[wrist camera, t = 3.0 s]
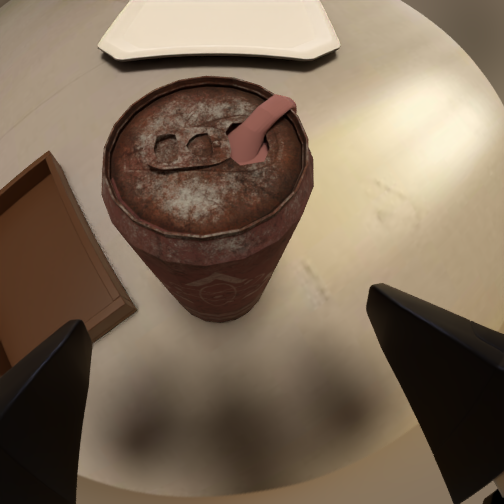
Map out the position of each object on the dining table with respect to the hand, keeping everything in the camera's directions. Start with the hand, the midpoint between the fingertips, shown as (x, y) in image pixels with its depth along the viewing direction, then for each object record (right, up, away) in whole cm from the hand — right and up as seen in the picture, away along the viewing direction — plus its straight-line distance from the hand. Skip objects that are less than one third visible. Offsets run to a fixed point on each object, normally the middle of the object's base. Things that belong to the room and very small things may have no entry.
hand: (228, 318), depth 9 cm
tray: (-16, 0, +11) cm, 19 cm away
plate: (-3, +35, +24) cm, 42 cm away
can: (-1, 0, +12) cm, 12 cm away
